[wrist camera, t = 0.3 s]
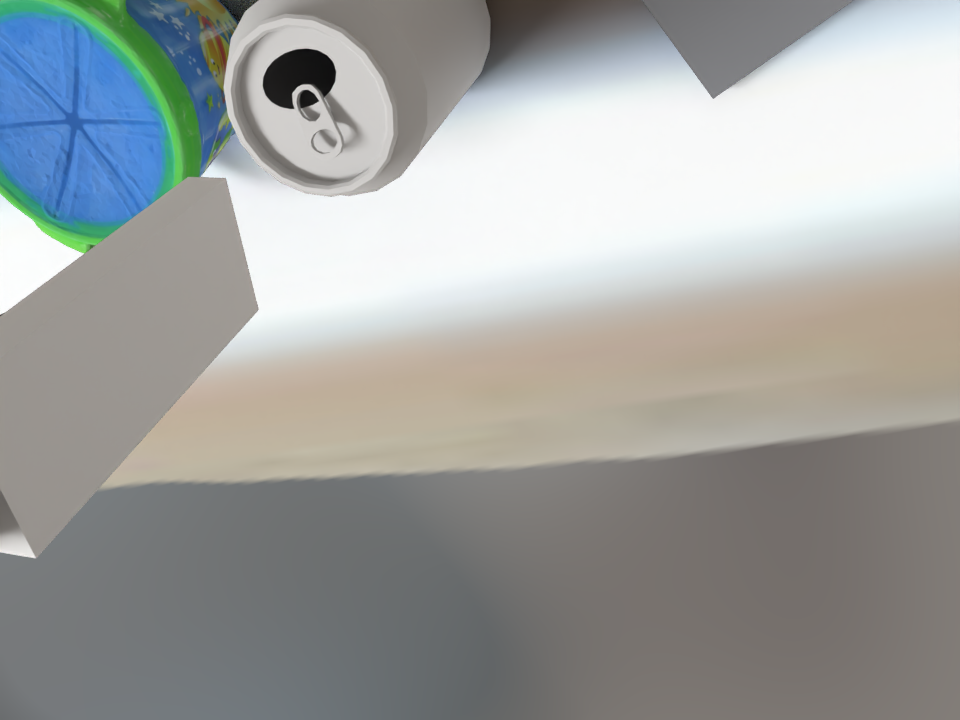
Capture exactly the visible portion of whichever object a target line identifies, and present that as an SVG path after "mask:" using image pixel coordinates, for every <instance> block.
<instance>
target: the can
mask: <svg viewBox="0 0 960 720" xmlns="http://www.w3.org/2000/svg"><path fill="white" fill-rule="evenodd" d="M490 21H491V19H490V16H489V12H488V8H487V5H486V1H485V0H258V1H257V2H256V3H255V4H254V5H252V6H251V7H250V8H249V9H248V10H246V11H245V13H244V15H243V17H242V19H241V20H240V22H239V24H238V26H237V28H236V30H235V32H234V34H233V35H232V37H231V41H230V48H229V55H228V60H227V66H226V73H225V80H224V94H225V100H226V106H227V113H228V117H229V119H230V121H231V123H232V126H233V128H234V130H235V132H236V134H237V137H238V139H239V141H240V143H241V144H242V145H243V147H244V148H245V149H246V150H247V152H248V153H249V154H250V155H251V157H252V158H253V159H254V161H255V162H256V163H257V164H258V165H259V166H260V167H261V168H263V169H264V170H265V171H266V172H268V173H269V174H270V175H271V176H273V177H274V178H275V179H277V180H278V181H279V182H280V183H283V184H285V185H287V186H290V187H292V188H294V189H297V190H299V191H301V192H303V193H307V194H314V195H322V196H330V197H332V196H337V195H345V196H352V195H357V194H362V193H368V192H373V191H377V190H379V189H380V188H382V187H384V186H385V185H387V184H389V183H390V182H392V181H394V180H395V179H397V178H399V177H400V176H401V175H402V174H403V173H404V171H405V170H406V169H407V167H408V166H409V165H410V164H411V162H412V161H413V160H414V159H415V157H416V156H417V155H418V153H419V152H420V151H421V150H422V148H423V147H424V146H425V144H426V143H427V142H428V141H429V139H430V138H431V137H432V135H433V134H434V133H435V132H436V130H437V129H438V128H439V126H440V125H441V124H442V123H443V121H444V120H445V119H446V118H447V116H448V115H449V114H450V112H451V111H452V110H453V109H454V107H455V106H456V105H457V103H458V102H459V101H460V100H461V98H462V97H463V96H464V94H465V93H466V92H467V91H468V89H469V88H470V87H471V85H472V84H473V83H474V82H475V80H476V79H477V78H478V76H479V75H480V74H481V72H482V69H483V66H484V63H485V60H486V57H487V55H488V52H489V49H490Z"/></svg>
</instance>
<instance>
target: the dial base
mask: <svg viewBox="0 0 960 720" xmlns="http://www.w3.org/2000/svg"><path fill="white" fill-rule="evenodd" d="M852 1H853V0H642V2H643V3H644V4H645V6H646V7H647V8H648V10H649V11H650V13H651V14H652V15H653V17H654V18H655V19H656V21H657V22H658V24H659V25H660V26H661V28H662V29H663V30H664V32H665V33H666V35H667V36H668V37H669V39H670V40H671V42H672V43H673V44H674V46H675V47H676V48H677V50H678V51H679V53H680V54H681V55H682V57H683V58H684V59H685V61H686V62H687V64H688V65H689V66H690V68H691V69H692V70H693V72H694V73H695V75H696V76H697V77H698V79H699V80H700V82H701V83H702V84H703V86H704V87H705V88H706V90H707V91H708V93H709V94H710V95H711V97H712V98H715V97H716V96H718V95H719V94H721V93H722V92H723V91H725V90H726V89H728V88H729V87H731V86H732V85H733V84H735V83H736V82H738V81H739V80H741V79H742V78H743V77H745V76H746V75H748V74H749V73H751V72H752V71H753V70H755V69H756V68H758V67H759V66H761V65H762V64H763V63H765V62H766V61H768V60H769V59H771V58H772V57H773V56H775V55H776V54H778V53H779V52H781V51H782V50H783V49H785V48H786V47H788V46H789V45H791V44H792V43H793V42H795V41H796V40H798V39H799V38H801V37H802V36H803V35H805V34H806V33H808V32H809V31H811V30H812V29H813V28H815V27H816V26H818V25H819V24H821V23H822V22H823V21H825V20H826V19H828V18H829V17H831V16H832V15H833V14H835V13H836V12H838V11H839V10H841V9H842V8H843V7H845V6H846V5H848V4H849V3H851V2H852Z"/></svg>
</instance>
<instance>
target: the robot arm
mask: <svg viewBox="0 0 960 720" xmlns="http://www.w3.org/2000/svg"><path fill="white" fill-rule="evenodd" d="M258 310H259V309H258V305H257V301H256V297H255V293H254V289H253V285H252V281H251V277H250V273H249V269H248V265H247V261H246V257H245V253H244V249H243V245H242V241H241V237H240V233H239V229H238V225H237V221H236V217H235V213H234V209H233V205H232V201H231V197H230V193H229V189H228V185H227V181H226V178H208V177H187V178H186V179H185V180H183V181H182V182H181V183H179V184H178V185H176V186H175V187H174V188H172V189H171V190H170V191H168V192H167V193H166V194H164V195H163V196H162V197H160V198H159V199H158V200H156V201H155V202H154V203H152V204H151V205H150V206H148V207H147V208H146V209H144V210H143V211H141V212H140V213H139V214H137V215H136V216H135V217H133V218H132V219H131V220H129V221H128V222H127V223H125V224H124V225H123V226H121V227H120V228H119V229H117V230H116V231H115V232H113V233H112V234H110V235H109V236H108V237H106V238H105V239H104V240H102V241H101V242H100V243H98V244H97V245H96V246H94V247H93V248H92V249H90V250H89V251H88V252H86V253H85V254H84V255H82V256H81V257H79V258H78V259H77V260H75V261H74V262H73V263H71V264H70V265H69V266H67V267H66V268H65V269H63V270H62V271H61V272H59V273H58V274H57V275H55V276H54V277H53V278H51V279H50V280H49V281H47V282H46V283H44V284H43V285H42V286H40V287H39V288H38V289H36V290H35V291H34V292H32V293H31V294H30V295H28V296H27V297H26V298H24V299H23V300H22V301H20V302H19V303H18V304H16V305H15V306H13V307H12V308H11V309H9V310H8V311H7V312H5V313H3V314H1V315H0V552H2V553H8V554H14V555H20V556H25V557H32V558H37V557H38V556H39V555H40V553H41V552H42V551H43V550H44V549H45V548H46V547H47V545H48V544H49V543H50V542H51V541H52V540H53V539H54V538H55V537H56V536H57V534H58V533H59V532H60V531H61V530H62V529H63V528H64V527H65V526H66V524H67V523H68V522H69V521H70V520H71V519H72V518H73V517H74V515H75V514H76V513H77V512H78V511H79V510H80V509H81V507H82V506H83V505H84V504H85V503H86V502H87V501H88V500H89V499H90V497H91V496H92V495H93V494H94V493H95V492H96V491H97V490H98V489H99V488H100V486H101V485H102V484H103V483H104V482H105V481H106V480H107V479H108V477H109V476H110V475H111V474H112V473H113V472H114V471H115V470H116V469H117V467H118V466H119V465H120V464H121V463H122V462H123V461H124V460H125V458H126V457H127V456H128V455H129V454H130V453H131V452H132V451H133V450H134V448H135V447H136V446H137V445H138V444H139V443H140V442H141V441H142V439H143V438H144V437H145V436H146V435H147V434H148V433H149V432H150V431H151V429H152V428H153V427H154V426H155V425H156V424H157V423H158V422H159V420H160V419H161V418H162V417H163V416H164V415H165V414H166V413H167V412H168V410H169V409H170V408H171V407H172V406H173V405H174V404H175V403H176V401H177V400H178V399H179V398H180V397H181V396H182V395H183V394H184V393H185V391H186V390H187V389H188V388H189V387H190V386H191V385H192V384H193V382H194V381H195V380H196V379H197V378H198V377H199V376H200V375H201V374H202V372H203V371H204V370H205V369H206V368H207V367H208V366H209V365H210V363H211V362H212V361H213V360H214V359H215V358H216V357H217V356H218V355H219V353H220V352H221V351H222V350H223V349H224V348H225V347H226V346H227V344H228V343H229V342H230V341H231V340H232V339H233V338H234V337H235V336H236V334H237V333H238V332H239V331H240V330H241V329H242V328H243V327H244V325H245V324H246V323H247V322H248V321H249V320H250V319H251V318H252V317H253V315H254V314H255V313H256V312H257V311H258Z"/></svg>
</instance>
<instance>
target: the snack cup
mask: <svg viewBox="0 0 960 720" xmlns="http://www.w3.org/2000/svg"><path fill="white" fill-rule="evenodd" d="M238 24H239V23H238V22H237V20H236V19H235V18H234V17H233V16H232V14H231V13H230V12H229V10H228V9H227V8H226V7H225V6H224V5H223V4H222V3H221V2H220V1H219V0H0V194H1V195H2V196H4V197H5V198H6V199H7V200H8V201H9V202H10V203H11V204H12V205H13V206H15V207H16V208H17V209H19V210H20V211H21V212H23V213H24V214H25V215H27V216H28V217H30V218H31V219H32V220H33V221H34V222H35V223H36V225H37V226H38V227H39V228H40V229H41V230H42V231H43V232H44V233H46V234H47V235H49V236H50V237H52V238H54V239H55V240H57V241H59V242H61V243H63V244H64V245H66V246H68V247H70V248H73V249H75V250H77V251H79V252H82V253H84V254H85V253H86V252H88V251H89V250H90V249H92V248H93V247H94V246H96V245H97V244H98V243H100V242H101V241H102V240H104V239H105V238H106V237H108V236H109V235H110V234H112V233H113V232H115V231H116V230H117V229H119V228H120V227H121V226H123V225H124V224H125V223H127V222H128V221H129V220H131V219H132V218H133V217H135V216H136V215H137V214H139V213H140V212H141V211H143V210H144V209H146V208H147V207H148V206H150V205H151V204H152V203H154V202H155V201H156V200H158V199H159V198H160V197H162V196H163V195H164V194H166V193H167V192H168V191H170V190H171V189H172V188H174V187H175V186H176V185H178V184H179V183H181V182H182V181H183V180H185V179H186V178H187V177H201V175H202V174H203V173H204V172H205V170H206V169H207V168H208V167H209V165H210V164H211V163H212V161H213V160H214V159H215V158H216V156H217V155H218V154H219V152H220V151H221V150H222V149H223V147H224V146H225V144H226V143H227V142H228V140H229V139H230V137H231V136H232V135H233V134H234V133H235V130H234V128H233V126H232V123H231V121H230V119H229V117H228V113H227V106H226V100H225V94H224V80H225V73H226V66H227V60H228V55H229V48H230V41H231V37H232V35H233V34H234V32H235V30H236V28H237V26H238Z"/></svg>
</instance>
